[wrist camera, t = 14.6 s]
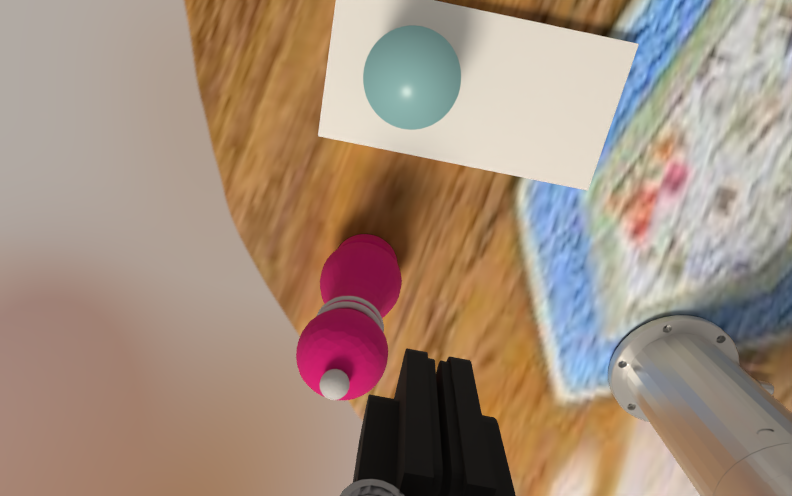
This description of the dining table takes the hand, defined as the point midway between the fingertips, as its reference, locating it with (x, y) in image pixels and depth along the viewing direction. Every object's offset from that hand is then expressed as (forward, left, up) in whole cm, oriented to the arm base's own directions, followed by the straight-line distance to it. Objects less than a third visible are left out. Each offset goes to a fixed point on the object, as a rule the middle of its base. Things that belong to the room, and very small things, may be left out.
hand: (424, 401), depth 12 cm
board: (-3, -7, -32) cm, 33 cm away
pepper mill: (+3, +10, -32) cm, 34 cm away
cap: (+2, -7, -29) cm, 30 cm away
